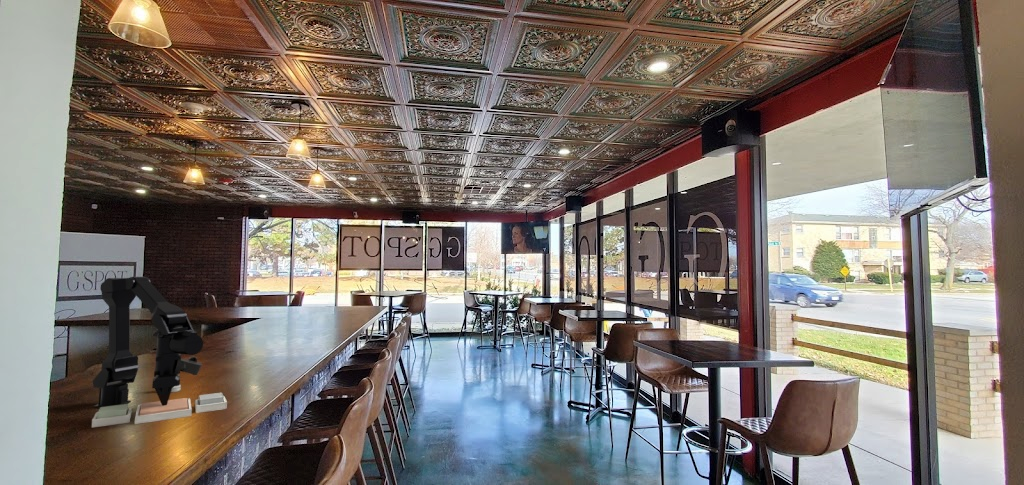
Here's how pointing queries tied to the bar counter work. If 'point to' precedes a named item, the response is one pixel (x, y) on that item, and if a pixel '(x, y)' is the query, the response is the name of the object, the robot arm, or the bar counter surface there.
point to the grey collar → (210, 406)
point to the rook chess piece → (176, 388)
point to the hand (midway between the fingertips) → (164, 405)
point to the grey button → (210, 398)
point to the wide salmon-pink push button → (162, 415)
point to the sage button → (112, 411)
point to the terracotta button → (158, 408)
